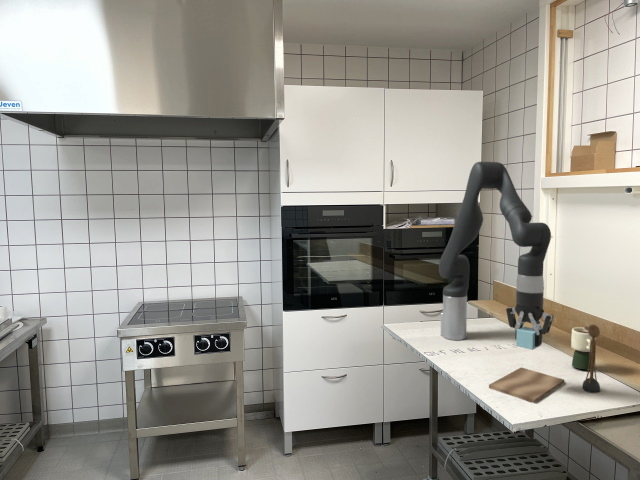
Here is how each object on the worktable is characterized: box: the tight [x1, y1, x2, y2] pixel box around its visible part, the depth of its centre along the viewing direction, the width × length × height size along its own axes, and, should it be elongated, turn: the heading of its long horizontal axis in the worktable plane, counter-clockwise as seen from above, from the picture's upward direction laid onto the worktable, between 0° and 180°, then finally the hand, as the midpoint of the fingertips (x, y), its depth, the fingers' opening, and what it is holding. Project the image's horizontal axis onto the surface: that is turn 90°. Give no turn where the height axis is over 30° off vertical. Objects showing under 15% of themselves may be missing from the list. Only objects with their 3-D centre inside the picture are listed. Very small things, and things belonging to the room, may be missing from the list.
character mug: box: [570, 326, 597, 371], centre depth 162 cm, size 11×7×13 cm, turn 174°
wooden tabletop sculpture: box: [581, 323, 601, 394], centre depth 145 cm, size 6×5×20 cm
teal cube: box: [515, 326, 540, 351], centre depth 148 cm, size 5×5×5 cm
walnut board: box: [488, 366, 566, 404], centre depth 150 cm, size 14×20×1 cm
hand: (528, 343), depth 149 cm, fingers closed on teal cube, 5 cm apart
